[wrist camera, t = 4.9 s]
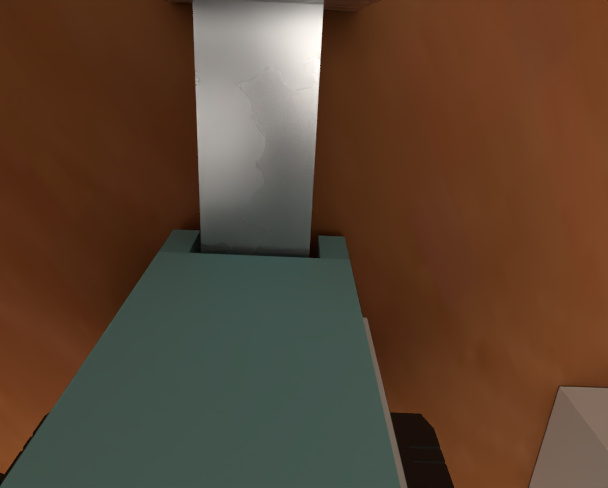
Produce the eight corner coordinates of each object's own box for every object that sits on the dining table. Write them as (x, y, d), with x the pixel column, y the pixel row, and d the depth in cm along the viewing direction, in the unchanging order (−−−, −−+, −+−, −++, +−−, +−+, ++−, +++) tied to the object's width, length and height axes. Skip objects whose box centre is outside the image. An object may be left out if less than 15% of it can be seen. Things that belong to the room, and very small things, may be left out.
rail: (167, -42, 13) (91, -89, 8) (360, -30, 13) (394, -71, 8) (199, 576, 22) (171, 720, 17) (311, 579, 22) (314, 723, 17)
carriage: (173, 229, 15) (-21, 515, 6) (344, 236, 15) (409, 528, 6) (184, 412, 18) (61, 800, 9) (329, 417, 18) (358, 804, 9)
